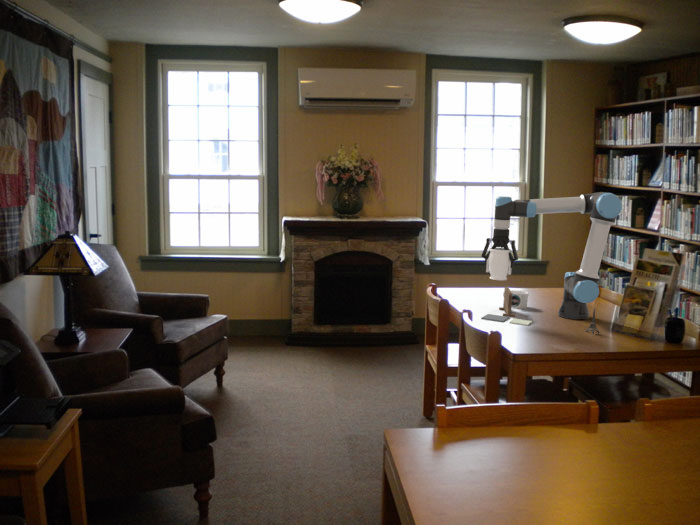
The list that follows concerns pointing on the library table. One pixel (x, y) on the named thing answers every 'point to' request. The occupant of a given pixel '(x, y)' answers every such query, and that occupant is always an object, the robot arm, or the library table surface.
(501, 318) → the grey mat
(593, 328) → the eiffel tower figurine
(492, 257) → the jar
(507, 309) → the screen
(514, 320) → the sage mat
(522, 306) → the mug
